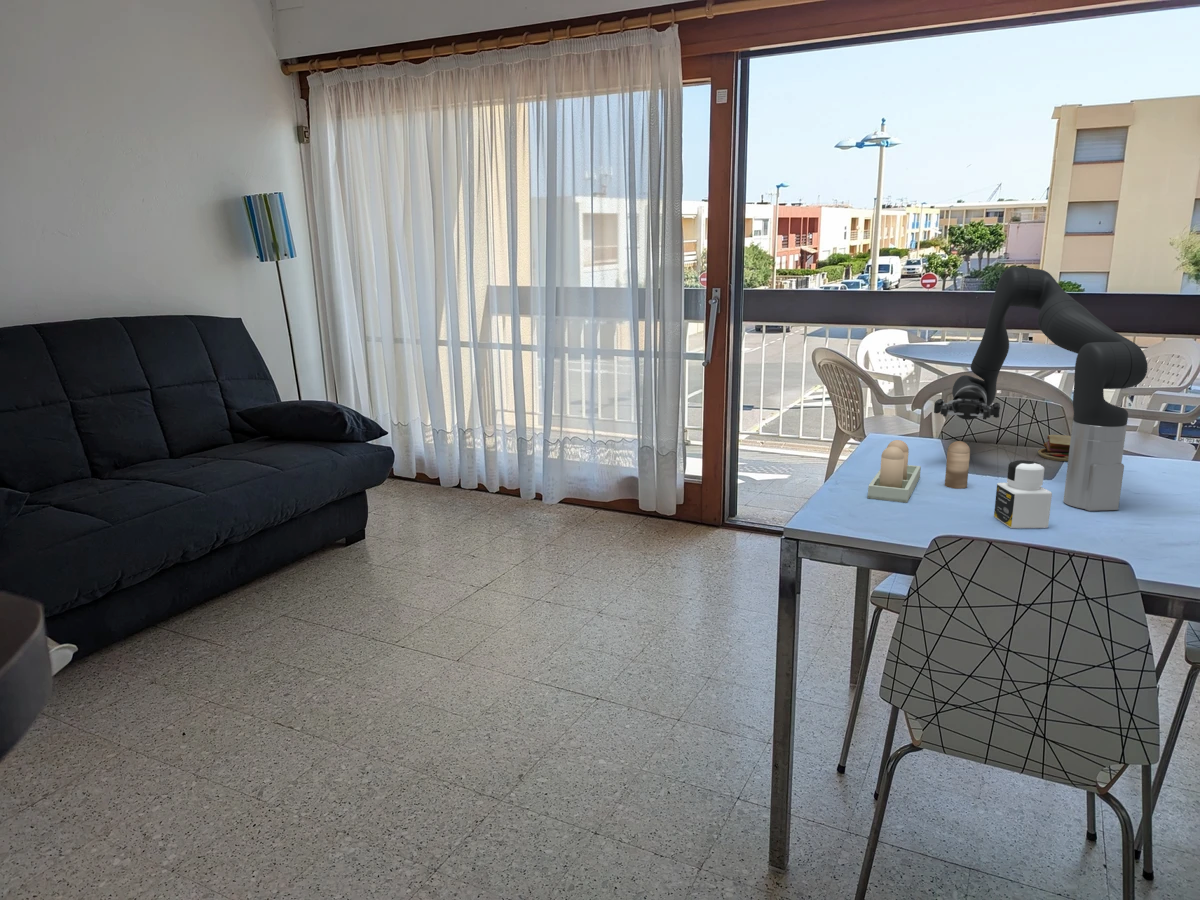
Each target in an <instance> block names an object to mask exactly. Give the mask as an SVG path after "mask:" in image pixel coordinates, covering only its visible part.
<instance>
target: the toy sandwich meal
mask: <svg viewBox="0 0 1200 900" xmlns="http://www.w3.org/2000/svg"><path fill="white" fill-rule="evenodd" d="M1046 439H1047V441H1046V442H1044V443H1043V447H1045V448H1041V449H1038V450H1037V454H1038V455H1040V457H1041V458H1044V459H1046V460H1050V461H1055V460H1056V462H1061V461H1068V457H1069V449H1070V441H1071V435H1068V434H1067V435H1065V434H1048V435H1047V437H1046Z"/></svg>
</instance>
